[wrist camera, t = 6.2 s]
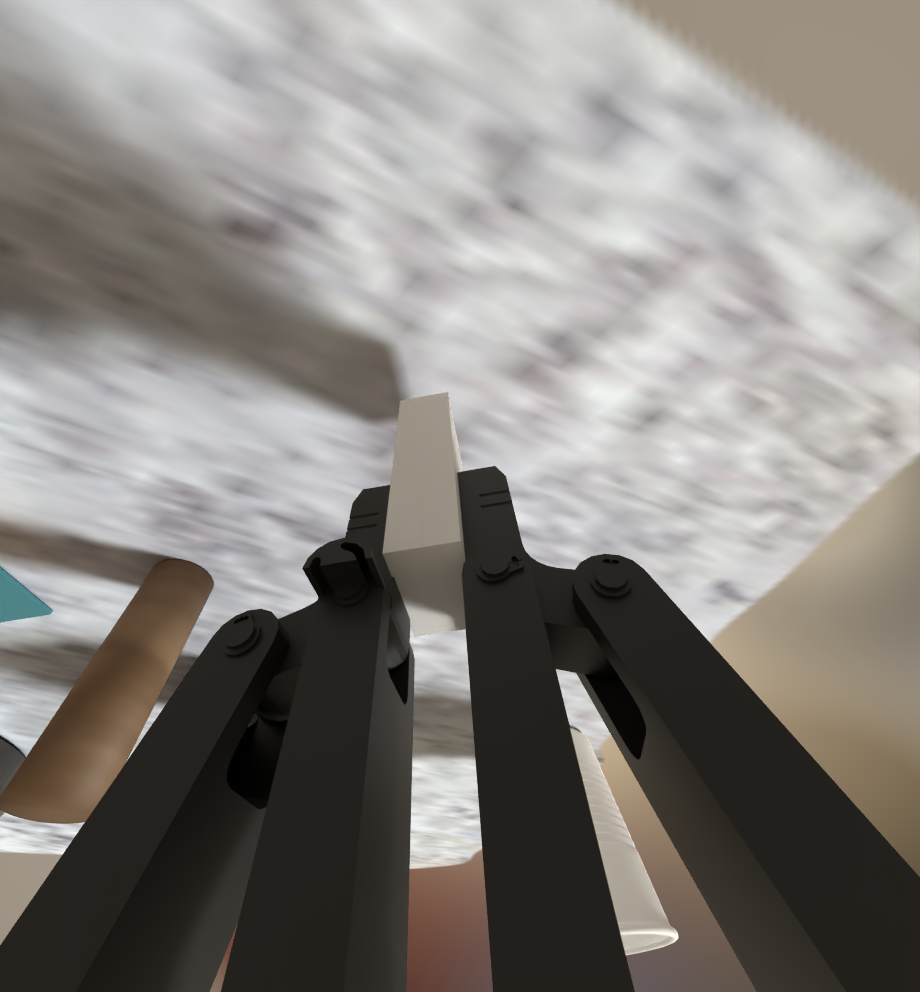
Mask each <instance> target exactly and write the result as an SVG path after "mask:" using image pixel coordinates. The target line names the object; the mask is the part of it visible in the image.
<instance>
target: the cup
mask: <svg viewBox="0 0 920 992" xmlns="http://www.w3.org/2000/svg"><path fill="white" fill-rule="evenodd" d="M570 730H571V734H572V738H573V742H574V746H575V751H576V755H577V759H578V763H579V767H580V771H581V775H582V779H583V783H584V787H585V791H586V795H587V799H588V804H589V808H590V812H591V816H592V820H593V824H594V828H595V832H596V836H597V840H598V844H599V848H600V853H601V857H602V861H603V865H604V869H605V873H606V877H607V881H608V885H609V889H610V893H611V897H612V901H613V906H614V910H615V914H616V918H617V922H618V926H619V930H620V934H621V938H622V942H623V946H624V950H625V954H626V955H629V954H635V953H640V952H644V951H649V950H653V949H657V948H661V947H664V946H666V945H669V944H671V943H673V942H675V941H676V940H677V939H678V933H677V931H676V929H674V928H673V927H671V926H670V924H669V922H668V920H667V917H666V915H665V913H664V911H663V908H662V906H661V904H660V902H659V899H658V897H657V895H656V892H655V890H654V888H653V886H652V883H651V881H650V879H649V876H648V874H647V872H646V870H645V867H644V865H643V863H642V860H641V858H640V856H639V854H638V851H637V850H636V849H635V846H634V843H633V841H632V839H631V836H630V833H629V832H628V830H627V827H626V824H625V823H624V821H623V818H622V816H621V813H620V811H619V808H618V806H617V805H616V802H615V799H614V797H613V796H612V792H611V790H610V789H609V786H608V783H607V781H606V780H605V776H604V774H603V773H602V770H601V767H600V765H599V762H598V760H597V758H596V756H595V753H594V751H593V749H592V746H591V744H590V742H589V740H588V738H587V737H586V736H585V735H583V734H581V733H580V732H579V731H577V730H575V729H572V728H570Z"/></svg>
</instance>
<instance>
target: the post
mask: <svg viewBox="0 0 920 992" xmlns="http://www.w3.org/2000/svg"><path fill="white" fill-rule="evenodd" d="M213 586H214V582H213V579H212V577H211V575H210V574H209V573H208V572H207V571H206V570H204V569H203V568H202V567H200V566H198V565H196V564H194V563H191V562H188V561H183V560H165V561H162V562H159V563H158V564H156V565H155V566H154V568H153V569H152V571H151V572H150V574H149V575H148V577H147V578H146V579H145V581H144V582H143V584H142V585H141V587H140V588H139V590H138V591H137V593H136V594H135V596H134V597H133V599H132V600H131V602H130V603H129V605H128V606H127V608H126V609H125V611H124V612H123V614H122V615H121V617H120V618H119V620H118V621H117V623H116V624H115V626H114V627H113V629H112V630H111V632H110V633H109V635H108V636H107V638H106V639H105V641H104V642H103V644H102V645H101V647H100V648H99V650H98V651H97V653H96V654H95V656H94V657H93V659H92V660H91V662H90V663H89V665H88V666H87V668H86V669H85V671H84V672H83V673H82V675H81V676H80V678H79V679H78V681H77V682H76V684H75V685H74V687H73V688H72V690H71V691H70V693H69V694H68V696H67V697H66V699H65V700H64V702H63V703H62V705H61V706H60V708H59V709H58V711H57V712H56V714H55V715H54V717H53V718H52V720H51V721H50V723H49V724H48V726H47V727H46V729H45V730H44V732H43V733H42V735H41V736H40V738H39V739H38V741H37V742H36V744H35V745H34V747H33V748H32V750H31V751H30V753H29V754H28V756H27V757H26V759H25V760H24V762H23V763H22V765H21V766H20V767H19V769H18V770H17V772H16V773H15V775H14V776H13V778H12V779H11V781H10V782H9V784H8V785H7V787H6V788H5V790H4V791H3V793H2V794H1V796H0V809H1V810H2V811H4V812H6V813H8V814H10V815H13V816H16V817H19V818H23V819H27V820H32V821H38V822H45V823H60V824H70V823H81V822H86V820H87V819H88V817H89V816H90V814H91V813H92V811H93V810H94V809H95V807H96V806H97V804H98V803H99V801H100V800H101V798H102V797H103V795H104V794H105V793H106V791H107V790H108V788H109V787H110V785H111V784H112V782H113V781H114V779H115V778H116V777H117V775H118V774H119V772H120V771H121V769H122V768H123V766H124V765H125V763H126V761H127V759H128V757H129V755H130V753H131V751H132V749H133V747H134V745H135V743H136V741H137V739H138V737H139V735H140V733H141V731H142V729H143V727H144V725H145V723H146V721H147V719H148V717H149V715H150V713H151V711H152V709H153V707H154V705H155V703H156V701H157V699H158V697H159V695H160V693H161V691H162V689H163V687H164V685H165V683H166V681H167V679H168V677H169V675H170V673H171V671H172V669H173V667H174V665H175V663H176V661H177V659H178V657H179V655H180V653H181V651H182V649H183V647H184V645H185V643H186V641H187V639H188V637H189V635H190V633H191V631H192V629H193V627H194V625H195V623H196V621H197V619H198V617H199V615H200V613H201V611H202V609H203V607H204V605H205V603H206V601H207V599H208V597H209V595H210V593H211V591H212V589H213Z"/></svg>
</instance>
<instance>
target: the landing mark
mask: <svg viewBox="0 0 920 992" xmlns="http://www.w3.org/2000/svg"><path fill="white" fill-rule="evenodd" d="M51 613H52V610H51V609H50V608H49V607H48V606H46V605H45V604H44V603H43V602H42V601H40V600H39V599H38V598H37V597H36V596H34V595H33V594H32V593H31V592H30V591H28V590H27V589H26V588H25V587H24V586H22V585H21V584H20V583H19V582H18V581H16V580H15V579H14V578H13V577H12V576H10V575H9V574H8V573H7V572H6V571H4V570H3V569H2V568H1V567H0V622H5V621H11V620H18V619H24V618H30V617H37V616H43V615H49V614H51Z"/></svg>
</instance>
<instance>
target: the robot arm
mask: <svg viewBox="0 0 920 992" xmlns="http://www.w3.org/2000/svg"><path fill="white" fill-rule="evenodd" d="M347 530H348V532H346V536H345V538H342V539H338V540H335V541H331V542H329V543H327V544H325V545H324V546H322V547H320V548H318V549H317V550H316V551H315V552H314V553H313V554H312V555H311V556H310V557H309V558H308V559H307V561H306V563H305V565H304V566H303V568H302V569H303V570H304V572H305V574H306V576H307V577H308V579H309V581H310V583H311V584H312V586H313V588H314V590H315V591H316V593H317V595H318V600H317V601H316V602H315V603H313V604H311V605H309V606H307V607H305V608H303V609H301V610H299V611H296V612H294V613H292V614H289V615H287V616H285V617H282V618H280V619H277V618H276V617H275V615H274V614H273V613H272V612H270V611H267V610H263V609H257V610H249V611H246V612H244V613H242V614H239V615H237V616H235V617H234V618H232V619H231V620H229V621H228V622H227V623H225V624H224V625H223V626H222V627H221V628H220V629H219V630H218V631H217V632H216V633H215V635H214V636H213V637H212V638H211V640H210V641H209V643H208V644H207V646H206V647H205V649H204V650H203V652H202V653H201V654H200V656H199V657H198V659H197V660H196V662H195V663H194V665H193V666H192V668H191V669H190V670H189V672H188V673H187V675H186V676H185V678H184V679H183V681H182V682H181V684H180V685H179V686H178V688H177V689H176V691H175V692H174V694H173V695H172V697H171V698H170V700H169V701H168V702H167V704H166V705H165V707H164V708H163V710H162V711H161V713H160V714H159V716H158V717H157V718H156V720H155V721H154V723H153V724H152V726H151V727H150V729H149V730H148V731H147V733H146V734H145V736H144V737H143V739H142V740H141V742H140V743H139V745H138V746H137V747H136V749H135V750H134V752H133V753H132V755H131V756H130V758H129V759H128V761H127V762H126V763H125V765H124V766H123V768H122V769H121V771H120V772H119V774H118V775H117V777H116V778H115V779H114V781H113V782H112V784H111V785H110V787H109V788H108V790H107V791H106V793H105V794H104V795H103V797H102V798H101V800H100V801H99V803H98V804H97V806H96V807H95V809H94V810H93V811H92V813H91V814H90V816H89V817H88V819H87V820H86V822H85V823H84V824H83V826H82V827H81V829H80V830H79V832H78V833H77V835H76V836H75V838H74V839H73V840H72V842H71V843H70V845H69V846H68V848H67V849H66V851H65V852H64V854H63V855H62V856H61V858H60V859H59V861H58V862H57V864H56V865H55V867H54V868H53V870H52V871H51V873H50V874H49V876H48V877H47V878H46V880H45V881H44V883H43V884H42V886H41V887H40V888H39V890H38V891H37V893H36V894H35V896H34V897H33V899H32V900H31V902H30V903H29V905H28V906H27V907H26V909H25V910H24V912H23V913H22V915H21V916H20V917H19V919H18V920H17V922H16V923H15V925H14V926H13V928H12V929H11V931H10V932H9V934H8V935H7V936H6V938H5V940H4V941H3V942H2V944H1V945H0V992H210V989H211V987H212V984H213V982H214V979H215V977H216V975H217V972H218V969H219V967H220V965H221V962H222V960H223V957H224V955H225V952H226V950H227V948H228V945H229V943H230V940H231V938H232V935H233V933H234V930H235V928H236V926H237V929H236V933H235V937H234V941H233V945H232V949H231V953H230V957H229V961H228V965H227V969H226V973H225V977H224V982H223V986H222V989H221V992H406V986H407V946H408V906H409V865H410V824H411V784H412V743H413V702H414V662H415V660H414V655H413V650H412V648H411V645H410V643H409V639H410V625H411V628H412V630H413V633H414V636H422V635H429V634H436V633H442V632H449V631H456V630H463V629H466V639H467V652H468V665H469V678H470V691H471V705H472V718H473V731H474V744H475V757H476V770H477V784H478V797H479V810H480V823H481V836H482V850H483V861H484V876H485V888H486V902H487V915H488V928H489V941H490V955H491V968H492V981H493V992H635V991H634V987H633V983H632V979H631V975H630V971H629V967H628V963H627V959H626V954H625V950H624V946H623V942H622V938H621V934H620V930H619V926H618V922H617V918H616V914H615V910H614V906H613V901H612V897H611V893H610V889H609V885H608V881H607V877H606V873H605V869H604V865H603V861H602V857H601V853H600V848H599V844H598V840H597V836H596V832H595V828H594V824H593V820H592V816H591V812H590V808H589V804H588V799H587V795H586V791H585V787H584V783H583V779H582V775H581V771H580V767H579V763H578V759H577V755H576V751H575V746H574V742H573V738H572V734H571V730H570V726H569V722H568V718H567V714H566V710H565V706H564V702H563V698H562V693H561V689H560V685H559V681H558V677H557V673H556V669H559V670H565V671H570V672H576V673H577V675H578V677H579V679H580V680H581V682H582V684H583V686H584V687H585V689H586V691H587V693H588V694H589V696H590V698H591V700H592V702H593V703H594V705H595V707H596V709H597V710H598V712H599V714H600V716H601V717H602V719H603V721H604V723H605V724H606V726H607V728H608V730H609V732H610V733H611V735H612V737H613V738H614V740H615V742H616V744H617V746H618V747H619V749H620V751H621V753H622V755H623V756H624V758H625V760H626V761H627V763H628V765H629V767H630V769H631V770H632V772H633V774H634V776H635V777H636V779H637V781H638V783H639V784H640V786H641V788H642V790H643V792H644V793H645V795H646V797H647V799H648V800H649V802H650V804H651V806H652V807H653V809H654V811H655V812H656V814H657V816H658V818H659V820H660V822H661V823H662V825H663V827H664V829H665V830H666V832H667V834H668V836H669V837H670V839H671V841H672V843H673V844H674V846H675V848H676V850H677V852H678V853H679V855H680V857H681V859H682V860H683V862H684V864H685V866H686V868H687V869H688V871H689V873H690V874H691V876H692V878H693V880H694V882H695V883H696V885H697V887H698V889H699V890H700V892H701V894H702V896H703V898H704V899H705V901H706V903H707V904H708V906H709V908H710V910H711V912H712V913H713V915H714V917H715V919H716V920H717V922H718V924H719V926H720V928H721V929H722V931H723V933H724V935H725V936H726V938H727V940H728V942H729V943H730V945H731V947H732V949H733V950H734V952H735V954H736V956H737V958H738V959H739V961H740V963H741V965H742V966H743V968H744V970H745V972H746V973H747V975H748V977H749V979H750V980H751V982H752V984H753V986H754V988H755V989H756V991H757V992H920V877H919V876H918V875H917V874H916V873H915V872H914V870H913V869H912V868H911V867H910V866H909V865H908V864H907V862H906V861H905V860H904V859H903V858H902V857H901V856H900V855H899V854H898V852H897V851H896V850H895V849H894V848H893V847H892V846H891V845H890V843H889V842H888V841H887V840H886V839H885V838H884V837H883V836H882V835H881V833H880V832H879V831H878V830H877V829H876V828H875V827H874V826H873V825H872V823H871V822H870V821H869V820H868V819H867V818H866V817H865V816H864V814H863V813H862V812H861V811H860V810H859V809H858V808H857V807H856V806H855V804H854V803H853V802H852V801H851V800H850V799H849V798H848V797H847V795H846V794H845V793H844V792H843V791H842V790H841V789H840V788H839V787H838V785H837V784H836V783H835V782H834V781H833V780H832V779H831V778H830V776H829V775H828V774H827V773H826V772H825V771H824V770H823V769H822V768H821V766H820V765H819V764H818V763H817V762H816V761H815V760H814V759H813V757H812V756H811V755H810V754H809V753H808V752H807V751H806V750H805V749H804V747H803V746H802V745H801V744H800V743H799V742H798V741H797V740H796V738H795V737H794V736H793V735H792V734H791V733H790V732H789V731H788V730H787V728H786V727H785V726H784V725H783V724H782V723H781V722H780V721H779V720H778V718H777V717H776V716H775V715H774V714H773V713H772V712H771V711H770V710H769V708H768V707H767V706H766V705H765V704H764V703H763V702H762V700H761V699H760V698H759V697H758V696H757V695H756V694H755V693H754V692H753V691H752V689H751V688H750V687H749V686H748V685H747V684H746V683H745V682H744V680H743V679H742V678H741V677H740V676H739V675H738V674H737V673H736V671H735V670H734V669H733V668H732V667H731V666H730V665H729V664H728V663H727V661H726V660H725V659H724V658H723V657H722V656H721V655H720V654H719V652H718V651H717V650H716V649H715V648H714V647H713V646H712V645H711V643H710V642H709V641H708V640H707V639H706V638H705V637H704V636H703V635H702V633H701V632H700V631H699V630H698V629H697V628H696V627H695V626H694V624H693V623H692V622H691V621H690V620H689V619H688V618H687V617H686V616H685V614H684V613H683V612H682V611H681V610H680V609H679V608H678V607H677V605H676V604H675V603H674V602H673V601H672V600H671V599H670V598H669V597H668V595H667V594H666V593H665V592H664V591H663V590H662V589H661V588H660V586H659V585H658V584H657V583H656V582H655V581H654V580H653V579H652V578H651V576H650V575H649V574H648V573H647V572H646V571H645V570H644V569H643V568H642V567H641V566H639V565H638V564H637V563H635V562H634V561H633V560H630V559H628V558H625V557H622V556H620V555H610V554H602V555H597V556H591V557H590V558H588V559H586V560H584V561H582V562H581V563H580V564H579V565H578V567H577V568H576V569H575V570H572V569H563V568H555V567H550V566H546V565H544V564H541V563H539V562H537V561H536V560H534V559H533V558H531V557H530V556H529V555H528V553H527V552H526V551H525V549H524V547H523V545H522V541H521V537H520V533H519V529H518V525H517V521H516V516H515V512H514V508H513V504H512V500H511V496H510V492H509V488H508V483H507V479H506V476H505V475H504V474H503V473H502V472H501V471H500V470H499V469H498V468H497V467H495V466H493V467H487V468H481V469H475V470H469V471H463V468H462V462H461V457H460V451H459V446H458V441H457V436H456V431H455V426H454V420H453V415H452V410H451V405H450V400H449V395H448V392H446V393H441V394H435V395H429V396H424V397H418V398H413V399H407V400H401V401H400V407H399V415H398V424H397V433H396V441H395V450H394V458H393V467H392V476H391V484H390V485H387V486H381V487H375V488H369V489H363V490H362V492H361V493H360V494H359V496H358V497H357V498H356V500H355V501H354V502H353V504H352V509H351V513H350V520H349V523H348V527H347ZM25 759H26V758H25V757H24V756H23V755H22V754H21V753H20V752H19V751H18V750H17V749H15V748H14V747H13V746H11V745H10V744H8V743H7V742H5V741H3V740H2V739H0V796H1V794H2V793H3V791H4V790H5V788H6V787H7V785H8V784H9V782H10V781H11V779H12V778H13V776H14V775H15V773H16V772H17V770H18V769H19V767H20V766H21V765H22V763H23V762H24V760H25ZM3 814H4V811H2V810H1V809H0V817H1V816H2V815H3ZM237 923H238V925H237Z"/></svg>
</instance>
